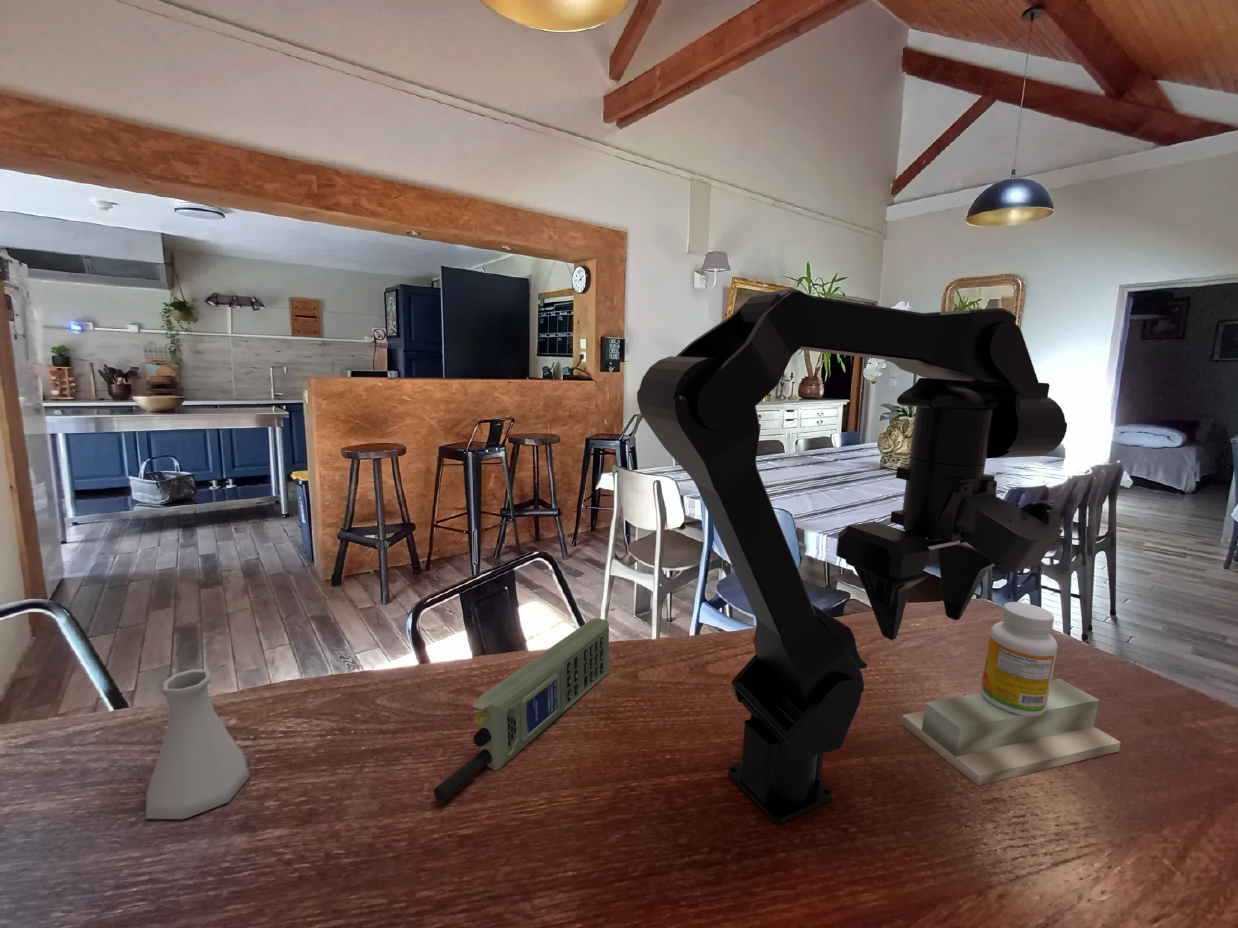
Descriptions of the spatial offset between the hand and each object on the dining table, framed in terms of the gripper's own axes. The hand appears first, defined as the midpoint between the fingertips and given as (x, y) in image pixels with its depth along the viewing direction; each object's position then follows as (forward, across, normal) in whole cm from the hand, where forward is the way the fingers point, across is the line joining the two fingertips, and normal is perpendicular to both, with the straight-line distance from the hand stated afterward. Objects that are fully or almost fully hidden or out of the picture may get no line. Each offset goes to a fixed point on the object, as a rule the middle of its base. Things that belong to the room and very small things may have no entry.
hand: (922, 627), depth 52 cm
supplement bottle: (+9, +12, -3) cm, 15 cm away
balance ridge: (+13, +12, -3) cm, 18 cm away
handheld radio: (+14, -30, +19) cm, 38 cm away
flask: (+13, -58, +23) cm, 64 cm away
